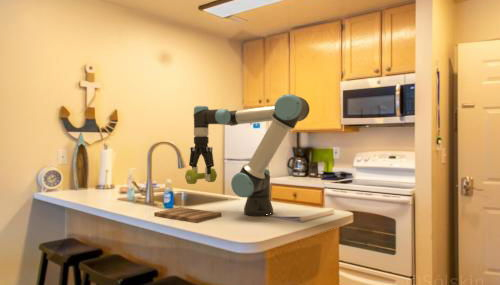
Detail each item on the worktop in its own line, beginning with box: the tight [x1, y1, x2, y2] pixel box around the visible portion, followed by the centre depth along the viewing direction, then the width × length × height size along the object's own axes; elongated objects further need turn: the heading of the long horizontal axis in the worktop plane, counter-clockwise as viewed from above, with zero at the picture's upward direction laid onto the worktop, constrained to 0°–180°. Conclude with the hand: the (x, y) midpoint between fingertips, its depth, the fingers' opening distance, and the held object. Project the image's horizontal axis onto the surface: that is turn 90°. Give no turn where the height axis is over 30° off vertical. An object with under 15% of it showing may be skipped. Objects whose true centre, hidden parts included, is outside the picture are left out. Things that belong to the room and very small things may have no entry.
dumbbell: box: [184, 167, 218, 185], centre depth 190 cm, size 16×8×7 cm, turn 135°
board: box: [153, 206, 222, 224], centre depth 183 cm, size 28×18×2 cm, turn 56°
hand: (201, 180), depth 190 cm, fingers closed on dumbbell, 8 cm apart
